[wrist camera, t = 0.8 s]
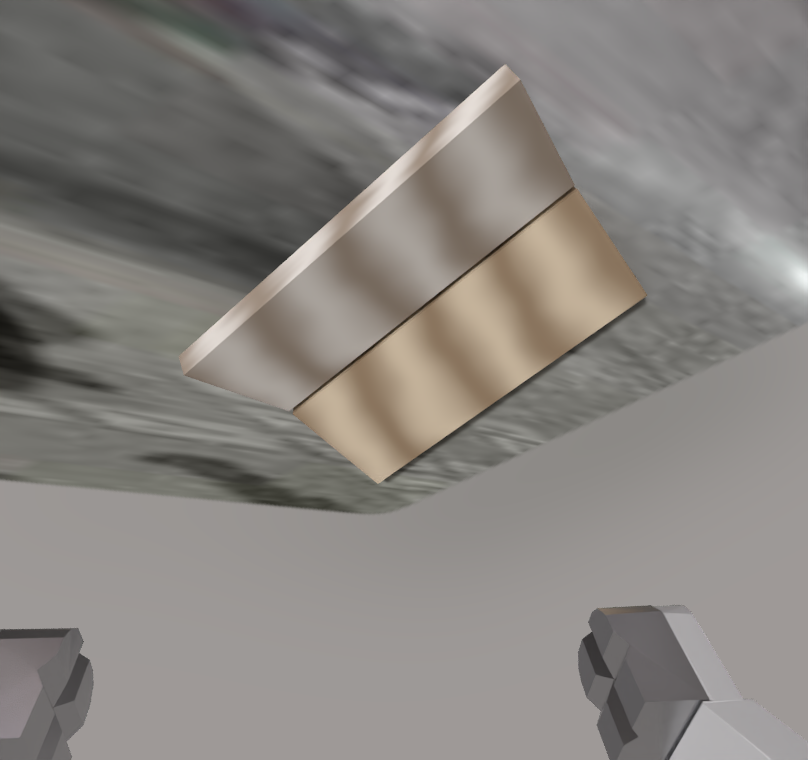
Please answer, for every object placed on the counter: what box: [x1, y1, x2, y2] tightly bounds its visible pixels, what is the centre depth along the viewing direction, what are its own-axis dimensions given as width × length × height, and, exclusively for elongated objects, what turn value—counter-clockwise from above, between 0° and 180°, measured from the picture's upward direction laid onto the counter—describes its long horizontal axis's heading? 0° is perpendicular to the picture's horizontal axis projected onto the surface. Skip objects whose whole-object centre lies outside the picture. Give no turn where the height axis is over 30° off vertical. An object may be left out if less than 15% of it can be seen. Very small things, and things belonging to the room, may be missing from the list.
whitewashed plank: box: [179, 64, 574, 411], centre depth 39 cm, size 26×10×2 cm, turn 130°
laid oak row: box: [293, 186, 647, 484], centre depth 45 cm, size 26×10×2 cm, turn 130°
